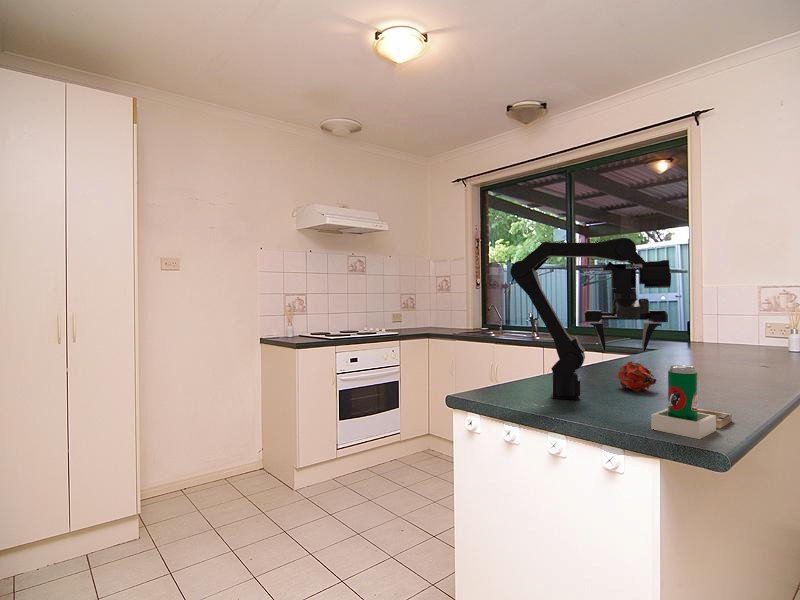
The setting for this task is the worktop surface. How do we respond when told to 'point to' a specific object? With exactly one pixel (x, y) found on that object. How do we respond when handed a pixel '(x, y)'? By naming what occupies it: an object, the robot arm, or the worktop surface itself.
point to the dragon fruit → (635, 376)
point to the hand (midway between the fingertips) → (623, 350)
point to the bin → (684, 424)
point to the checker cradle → (718, 417)
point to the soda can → (682, 392)
